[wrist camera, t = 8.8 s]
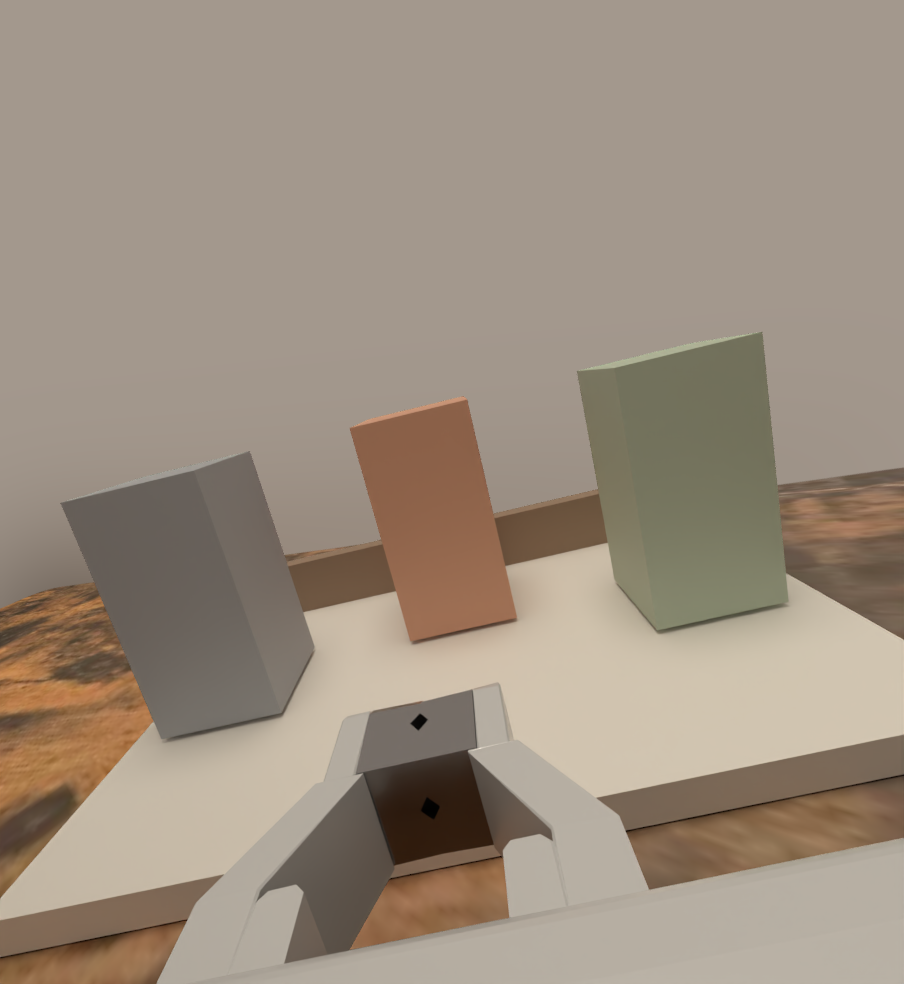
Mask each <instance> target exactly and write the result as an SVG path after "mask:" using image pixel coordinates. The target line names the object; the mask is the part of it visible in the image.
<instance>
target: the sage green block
mask: <svg viewBox="0 0 904 984" xmlns="http://www.w3.org/2000/svg"><path fill="white" fill-rule="evenodd" d="M577 373H578V380H579V385H580V391H581V396H582V402H583V407H584V413H585V418H586V423H587V430H588V435H589V440H590V446H591V451H592V458H593V463H594V469H595V474H596V480H597V485H598V491H599V497H600V502H601V508H602V513H603V519H604V524H605V530H606V536H607V541H608V547H609V552H610V558H611V564H612V569H613V575H614V580H615V581H616V582H617V583H618V584H619V585H620V587H621V588H622V589H623V590H624V591H625V593H626V594H627V595H628V596H629V597H630V598H631V600H632V601H633V602H634V603H635V604H636V606H637V607H638V608H639V609H640V610H641V612H642V613H643V614H644V615H645V616H646V617H647V619H648V620H649V621H650V622H651V623H652V625H653V626H654V627H655V628H656V629H657V630H662V629H666V628H671V627H675V626H680V625H684V624H689V623H693V622H698V621H703V620H707V619H712V618H716V617H721V616H725V615H730V614H734V613H739V612H744V611H748V610H753V609H757V608H762V607H766V606H771V605H775V604H780V603H785V602H789V600H788V590H787V580H786V570H785V559H784V549H783V539H782V529H781V518H780V508H779V498H778V488H777V478H776V467H775V457H774V447H773V437H772V427H771V416H770V406H769V396H768V386H767V375H766V365H765V355H764V345H763V335H762V332H759V333H752V334H746V335H740V336H733V337H727V338H721V339H715V340H709V341H702V342H696V343H690V344H686V345H682V346H678V347H674V348H670V349H666V350H661V351H657V352H653V353H649V354H645V355H641V356H637V357H633V358H628V359H624V360H620V361H616V362H612V363H608V364H604V365H600V366H596V367H592V368H588V369H583V370H580V371H577Z"/></svg>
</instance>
